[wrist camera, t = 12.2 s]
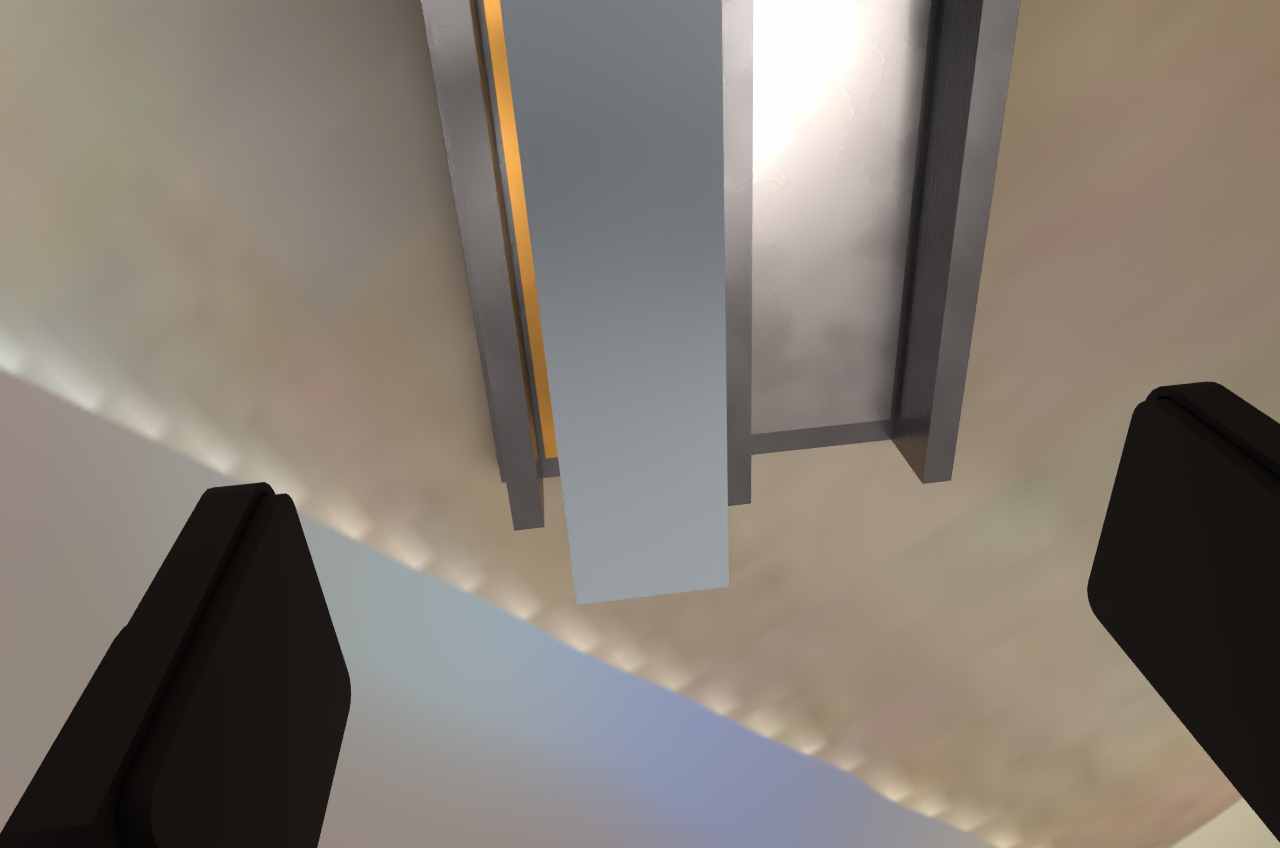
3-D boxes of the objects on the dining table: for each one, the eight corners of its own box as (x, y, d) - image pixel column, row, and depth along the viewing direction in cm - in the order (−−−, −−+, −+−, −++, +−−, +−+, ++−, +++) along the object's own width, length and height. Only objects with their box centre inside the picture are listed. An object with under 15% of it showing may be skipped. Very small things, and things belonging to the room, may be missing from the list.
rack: (377, -286, 21) (347, -328, 18) (1007, -319, 22) (1095, -365, 19) (502, 467, 32) (499, 532, 29) (919, 421, 33) (965, 478, 30)
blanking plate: (488, -199, 21) (464, -275, 13) (649, -209, 21) (718, -288, 14) (564, 431, 30) (577, 605, 22) (677, 419, 30) (728, 586, 23)
